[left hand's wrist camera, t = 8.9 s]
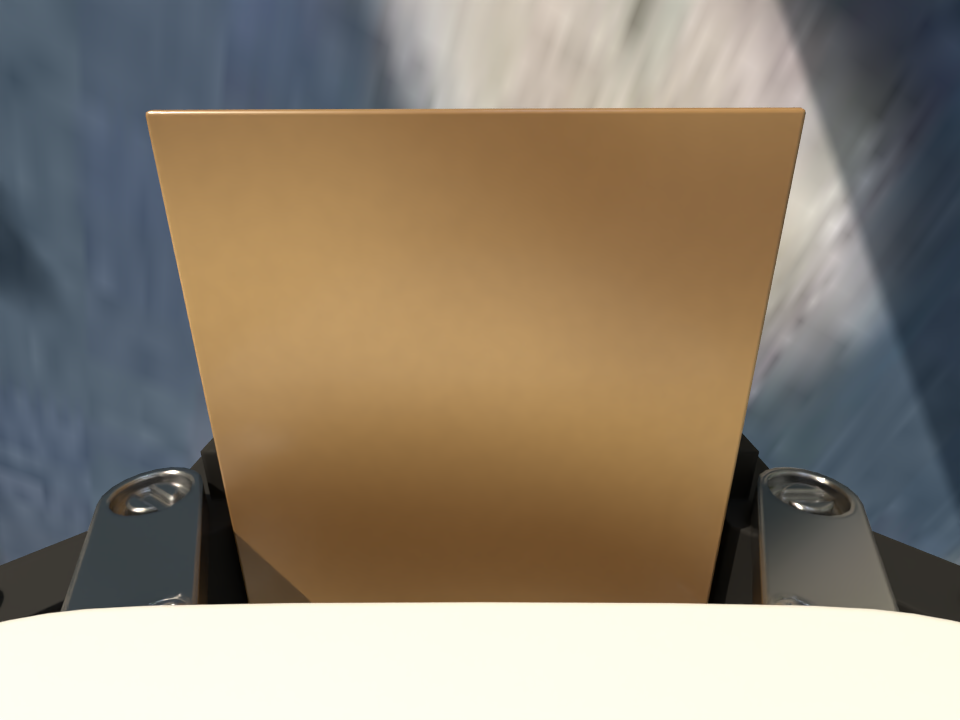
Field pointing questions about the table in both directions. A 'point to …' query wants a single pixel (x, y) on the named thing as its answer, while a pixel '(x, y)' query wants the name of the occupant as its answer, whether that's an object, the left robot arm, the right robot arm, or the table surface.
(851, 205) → the table surface
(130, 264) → the table surface
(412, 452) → the post
